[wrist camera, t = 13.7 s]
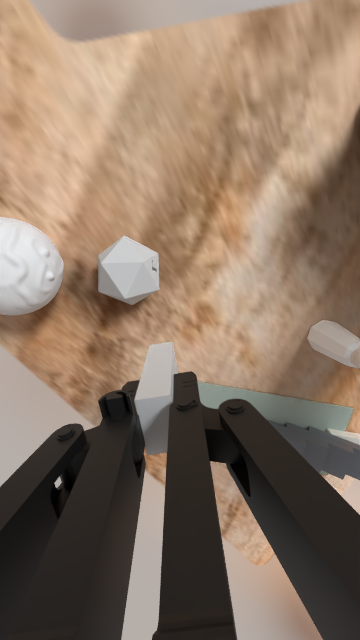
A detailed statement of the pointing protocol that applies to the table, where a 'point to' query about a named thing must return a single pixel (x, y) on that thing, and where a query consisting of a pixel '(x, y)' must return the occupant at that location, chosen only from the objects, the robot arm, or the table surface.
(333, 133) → the table surface
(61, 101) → the table surface
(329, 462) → the domino
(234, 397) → the felt mat
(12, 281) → the decorative ball
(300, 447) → the domino
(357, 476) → the domino
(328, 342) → the salt shaker
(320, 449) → the domino
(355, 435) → the domino
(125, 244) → the die
